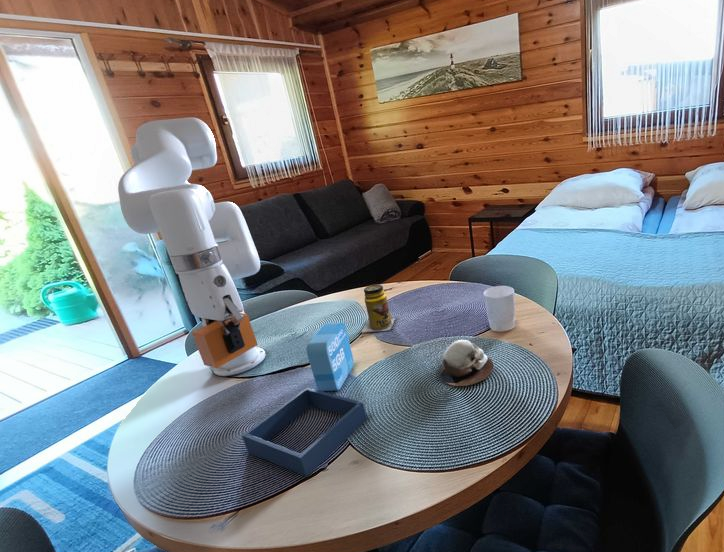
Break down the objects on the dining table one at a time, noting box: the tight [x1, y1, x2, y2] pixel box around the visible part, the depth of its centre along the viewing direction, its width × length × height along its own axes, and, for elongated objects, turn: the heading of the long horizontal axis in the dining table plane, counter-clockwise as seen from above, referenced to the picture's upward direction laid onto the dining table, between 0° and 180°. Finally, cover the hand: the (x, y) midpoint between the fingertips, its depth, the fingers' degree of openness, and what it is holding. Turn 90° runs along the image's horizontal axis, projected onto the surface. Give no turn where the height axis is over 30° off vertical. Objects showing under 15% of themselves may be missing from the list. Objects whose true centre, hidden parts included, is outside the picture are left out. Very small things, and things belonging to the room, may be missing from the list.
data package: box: [306, 322, 355, 392], centre depth 98 cm, size 12×4×12 cm, turn 176°
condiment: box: [360, 283, 396, 333], centre depth 122 cm, size 7×8×12 cm
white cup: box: [483, 285, 516, 333], centre depth 113 cm, size 8×8×10 cm
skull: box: [439, 339, 494, 387], centre depth 96 cm, size 12×10×10 cm
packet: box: [191, 313, 259, 368], centre depth 84 cm, size 4×9×7 cm, turn 152°
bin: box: [241, 387, 368, 477], centre depth 82 cm, size 16×16×4 cm
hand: (229, 347), depth 84 cm, fingers closed on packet, 4 cm apart
